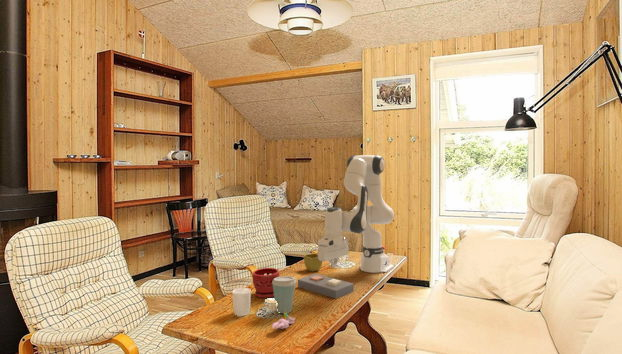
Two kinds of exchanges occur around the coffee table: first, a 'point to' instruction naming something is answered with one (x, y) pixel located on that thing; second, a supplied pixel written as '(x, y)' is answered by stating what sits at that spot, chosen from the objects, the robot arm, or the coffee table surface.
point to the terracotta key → (316, 278)
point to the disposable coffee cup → (284, 292)
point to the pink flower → (283, 322)
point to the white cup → (241, 301)
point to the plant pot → (264, 281)
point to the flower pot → (312, 262)
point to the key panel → (324, 291)
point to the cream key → (334, 282)
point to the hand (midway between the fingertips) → (333, 266)
